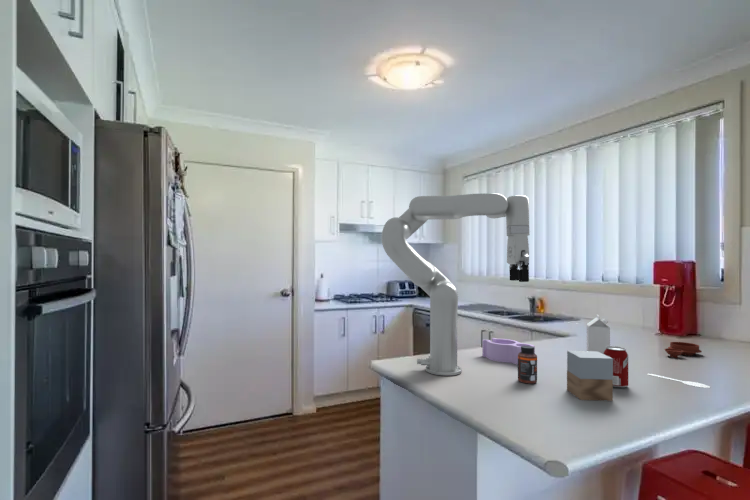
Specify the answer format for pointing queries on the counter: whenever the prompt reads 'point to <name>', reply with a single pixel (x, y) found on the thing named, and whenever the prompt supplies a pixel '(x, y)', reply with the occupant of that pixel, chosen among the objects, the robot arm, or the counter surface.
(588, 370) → the tower top block
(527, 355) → the supplement bottle
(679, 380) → the spoon
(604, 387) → the tower base block
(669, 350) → the pottery
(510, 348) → the clip
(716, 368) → the counter surface
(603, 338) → the milk carton
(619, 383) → the soda can
